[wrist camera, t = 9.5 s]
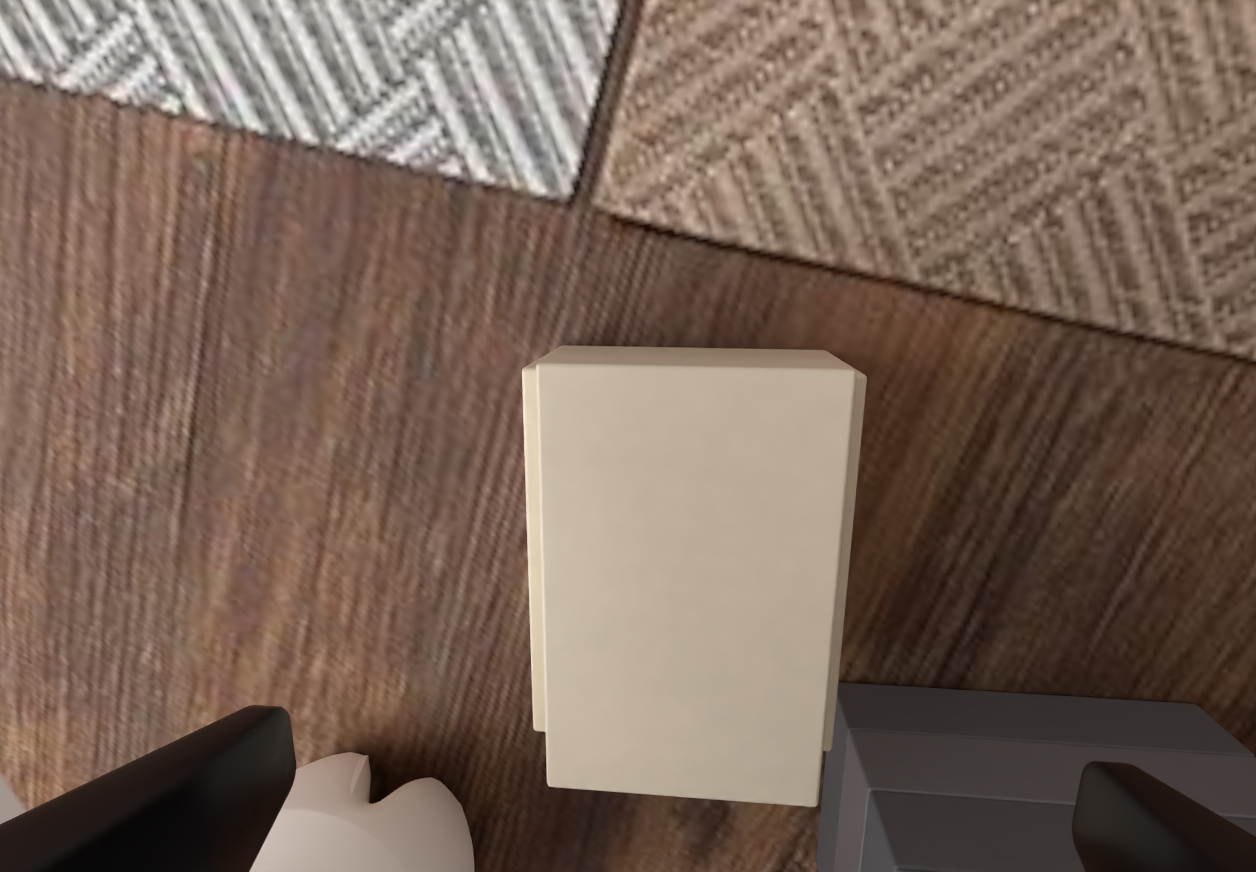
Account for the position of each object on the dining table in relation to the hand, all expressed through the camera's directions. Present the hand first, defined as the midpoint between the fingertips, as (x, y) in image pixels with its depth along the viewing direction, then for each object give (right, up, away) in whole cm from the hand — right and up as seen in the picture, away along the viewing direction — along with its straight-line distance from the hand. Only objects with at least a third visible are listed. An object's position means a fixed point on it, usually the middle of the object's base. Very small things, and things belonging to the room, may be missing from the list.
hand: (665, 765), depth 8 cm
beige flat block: (+1, +1, +5) cm, 5 cm away
